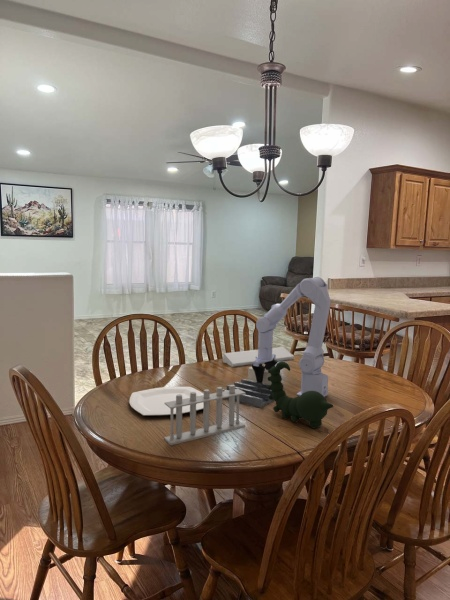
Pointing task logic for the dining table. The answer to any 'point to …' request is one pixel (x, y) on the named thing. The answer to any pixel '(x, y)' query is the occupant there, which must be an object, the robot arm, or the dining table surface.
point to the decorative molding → (253, 356)
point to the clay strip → (265, 377)
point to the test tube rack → (204, 415)
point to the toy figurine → (297, 400)
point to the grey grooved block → (252, 393)
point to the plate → (161, 400)
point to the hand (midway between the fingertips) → (264, 379)
